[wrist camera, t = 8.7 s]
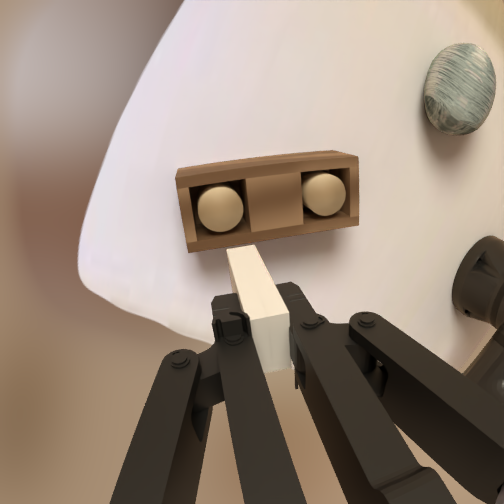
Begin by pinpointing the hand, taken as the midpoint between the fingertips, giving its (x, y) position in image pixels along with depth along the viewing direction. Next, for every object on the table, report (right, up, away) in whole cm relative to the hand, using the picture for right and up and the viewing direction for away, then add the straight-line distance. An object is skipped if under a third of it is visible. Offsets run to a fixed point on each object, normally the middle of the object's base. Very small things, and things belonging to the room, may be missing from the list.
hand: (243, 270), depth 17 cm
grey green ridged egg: (+26, +23, +16) cm, 38 cm away
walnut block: (+1, +8, +17) cm, 19 cm away
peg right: (+6, +9, +18) cm, 21 cm away
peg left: (-3, +7, +16) cm, 18 cm away
